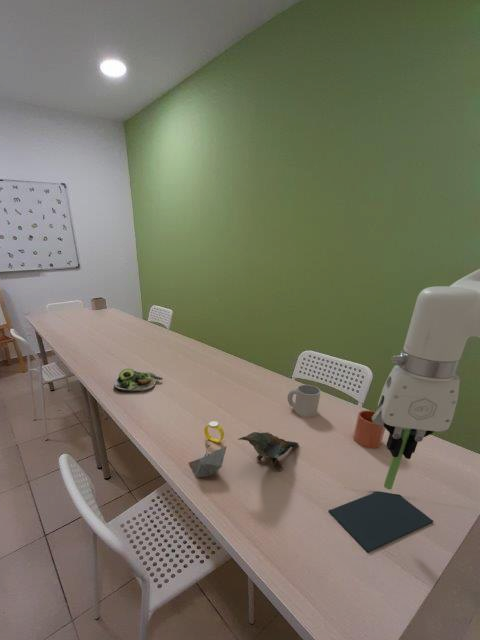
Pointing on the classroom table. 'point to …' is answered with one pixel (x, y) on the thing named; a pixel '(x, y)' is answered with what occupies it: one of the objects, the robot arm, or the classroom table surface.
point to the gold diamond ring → (214, 425)
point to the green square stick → (396, 460)
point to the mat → (379, 519)
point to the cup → (305, 400)
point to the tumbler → (368, 430)
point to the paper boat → (208, 463)
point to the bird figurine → (269, 446)
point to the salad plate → (135, 381)
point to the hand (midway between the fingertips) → (398, 452)
